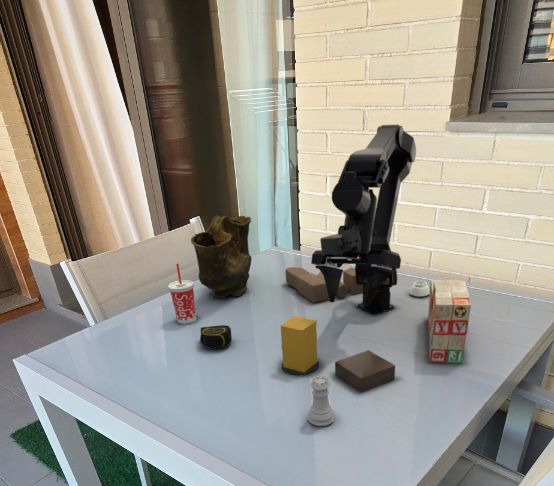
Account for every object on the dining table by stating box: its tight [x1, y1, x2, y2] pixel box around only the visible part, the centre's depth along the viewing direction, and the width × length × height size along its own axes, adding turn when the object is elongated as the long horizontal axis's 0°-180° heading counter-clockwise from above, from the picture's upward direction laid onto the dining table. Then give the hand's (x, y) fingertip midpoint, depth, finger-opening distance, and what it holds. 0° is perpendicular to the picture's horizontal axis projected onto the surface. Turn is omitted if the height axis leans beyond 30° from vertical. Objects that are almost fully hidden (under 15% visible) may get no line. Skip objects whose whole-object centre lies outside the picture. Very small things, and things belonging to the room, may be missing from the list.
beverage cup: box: [167, 262, 197, 325], centre depth 128 cm, size 6×6×14 cm
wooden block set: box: [284, 266, 363, 304], centre depth 143 cm, size 17×6×18 cm
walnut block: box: [334, 349, 396, 393], centre depth 102 cm, size 8×8×3 cm
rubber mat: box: [281, 360, 320, 376], centre depth 108 cm, size 8×8×1 cm
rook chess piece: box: [307, 375, 335, 427], centre depth 89 cm, size 4×4×8 cm
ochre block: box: [280, 315, 318, 373], centre depth 106 cm, size 5×5×9 cm
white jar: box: [409, 280, 430, 298], centre depth 135 cm, size 5×3×5 cm
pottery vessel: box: [190, 215, 252, 299], centre depth 141 cm, size 25×11×20 cm, turn 162°
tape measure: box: [199, 324, 233, 349], centre depth 118 cm, size 7×7×4 cm
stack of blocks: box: [427, 279, 472, 364], centre depth 110 cm, size 21×6×12 cm, turn 168°
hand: (348, 303), depth 109 cm, fingers open, 9 cm apart
